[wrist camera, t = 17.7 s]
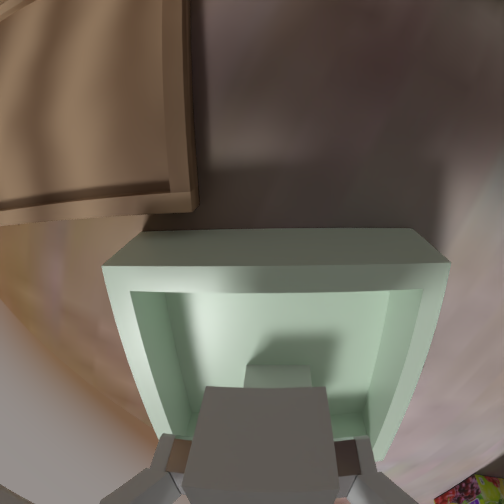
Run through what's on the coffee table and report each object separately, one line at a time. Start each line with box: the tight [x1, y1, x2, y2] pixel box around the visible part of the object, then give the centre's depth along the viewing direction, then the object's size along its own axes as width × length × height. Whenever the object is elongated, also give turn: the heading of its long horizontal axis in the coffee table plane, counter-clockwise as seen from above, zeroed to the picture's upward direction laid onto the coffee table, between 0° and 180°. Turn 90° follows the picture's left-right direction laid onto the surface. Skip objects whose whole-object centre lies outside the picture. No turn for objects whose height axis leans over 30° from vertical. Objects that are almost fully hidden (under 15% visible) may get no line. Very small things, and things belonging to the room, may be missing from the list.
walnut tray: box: [0, 0, 200, 226], centre depth 14 cm, size 18×16×2 cm
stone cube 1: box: [243, 365, 312, 388], centre depth 18 cm, size 4×4×4 cm
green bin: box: [102, 228, 451, 462], centre depth 17 cm, size 15×15×5 cm
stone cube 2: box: [181, 386, 340, 504], centre depth 9 cm, size 4×4×4 cm
